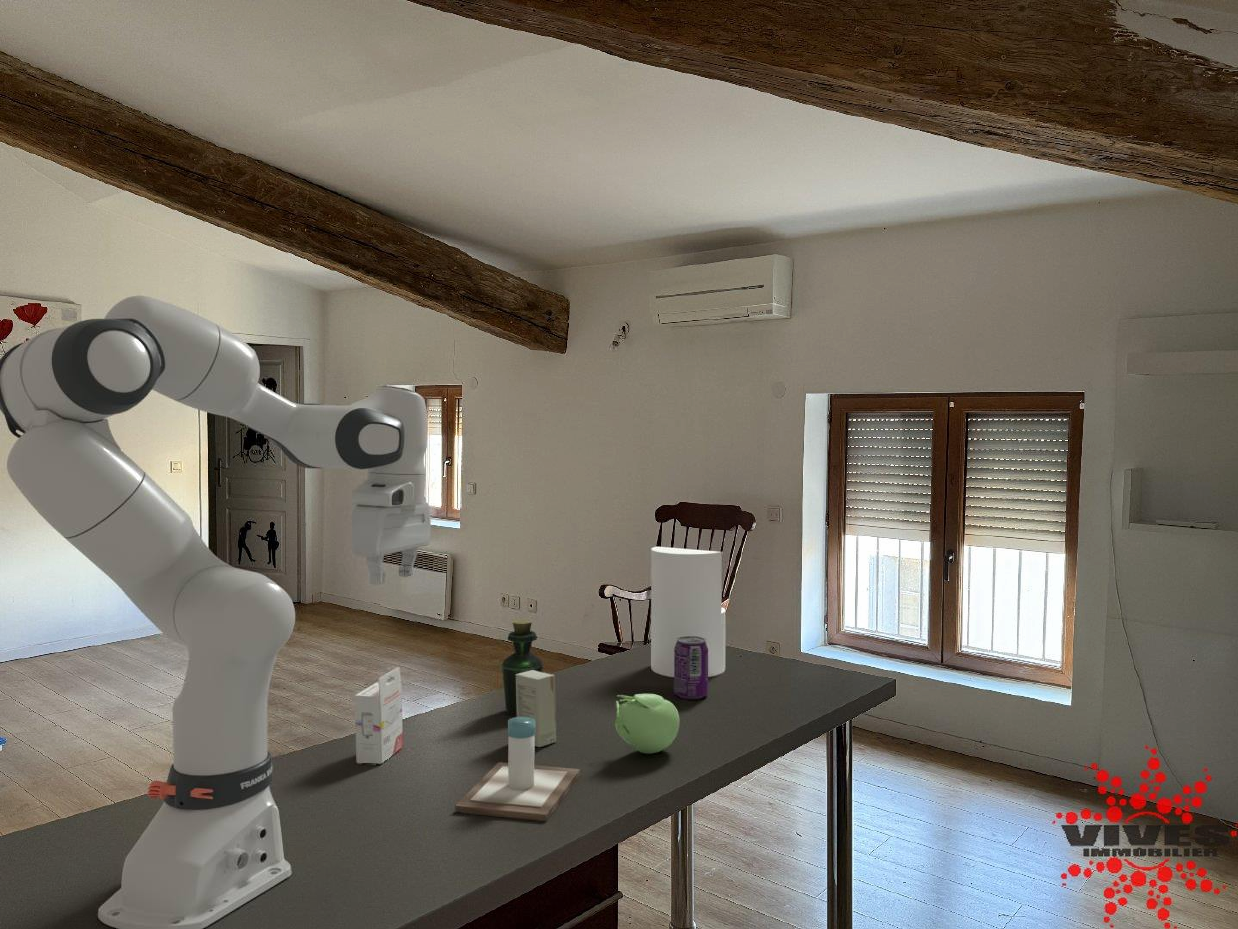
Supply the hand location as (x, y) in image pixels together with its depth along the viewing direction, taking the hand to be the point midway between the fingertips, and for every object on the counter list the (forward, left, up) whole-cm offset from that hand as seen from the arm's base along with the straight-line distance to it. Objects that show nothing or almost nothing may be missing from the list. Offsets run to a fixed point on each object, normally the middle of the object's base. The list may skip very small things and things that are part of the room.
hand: (391, 580), depth 145 cm
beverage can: (+59, -38, -33) cm, 77 cm away
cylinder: (+81, -35, -33) cm, 94 cm away
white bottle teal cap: (+2, -21, -31) cm, 38 cm away
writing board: (+2, -21, -33) cm, 39 cm away
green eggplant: (+23, -35, -33) cm, 53 cm away
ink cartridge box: (+12, +9, -33) cm, 36 cm away
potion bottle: (+41, -7, -33) cm, 53 cm away
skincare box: (+25, -15, -33) cm, 44 cm away
